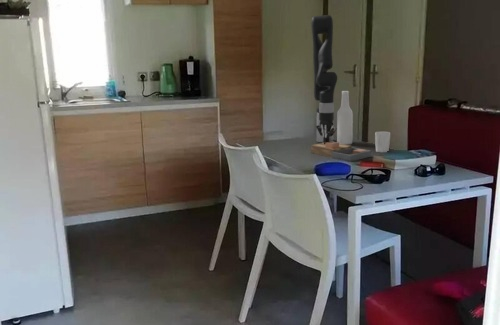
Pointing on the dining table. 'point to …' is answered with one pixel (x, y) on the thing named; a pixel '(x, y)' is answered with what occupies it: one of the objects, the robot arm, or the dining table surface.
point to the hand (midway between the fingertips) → (326, 144)
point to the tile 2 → (358, 151)
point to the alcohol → (345, 121)
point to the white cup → (382, 141)
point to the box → (350, 154)
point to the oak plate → (327, 149)
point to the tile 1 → (332, 145)
